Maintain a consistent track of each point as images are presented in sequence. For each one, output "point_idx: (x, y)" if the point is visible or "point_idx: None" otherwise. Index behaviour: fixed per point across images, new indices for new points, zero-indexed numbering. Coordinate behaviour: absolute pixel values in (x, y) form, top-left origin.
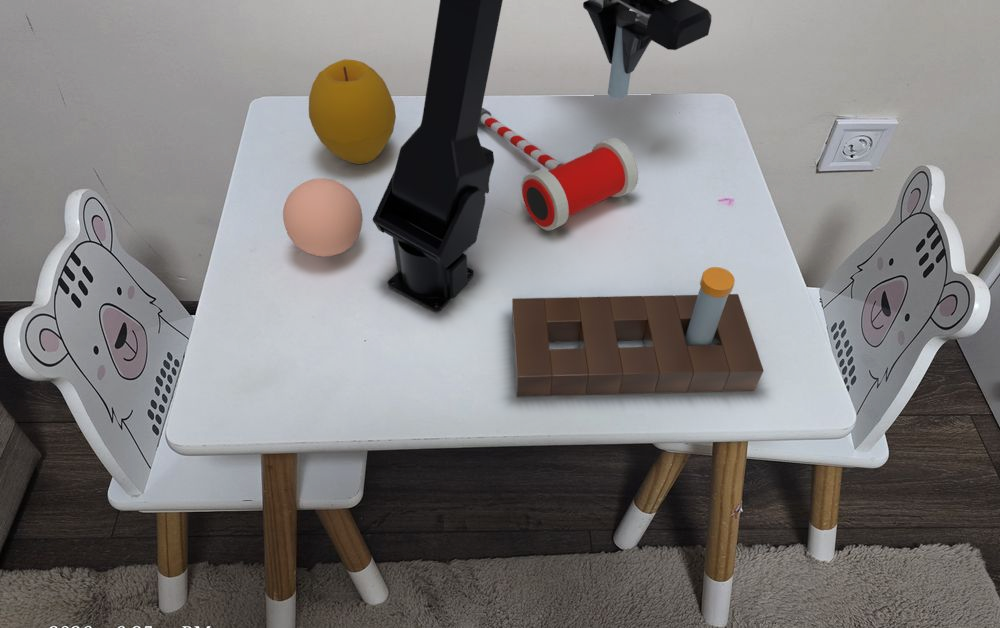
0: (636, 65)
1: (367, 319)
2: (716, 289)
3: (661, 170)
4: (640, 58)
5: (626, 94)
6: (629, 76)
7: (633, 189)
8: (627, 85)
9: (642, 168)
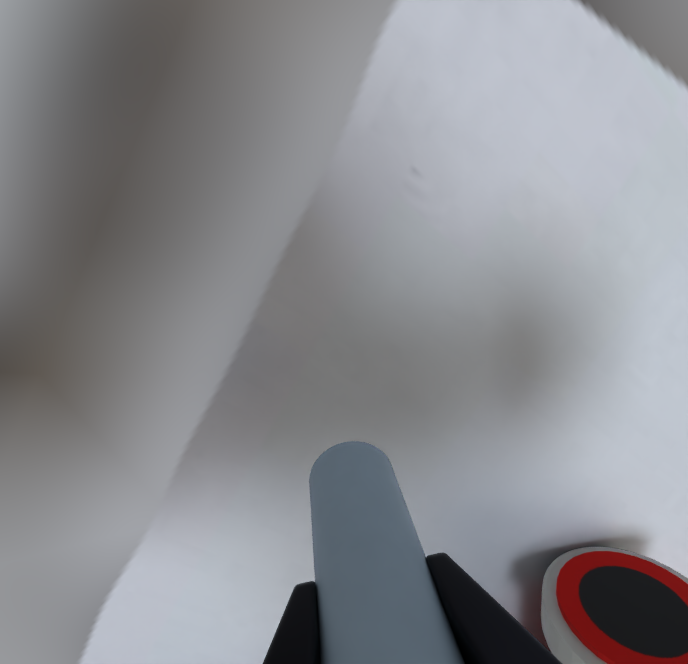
0: (471, 578)
1: None
2: None
3: (604, 414)
4: (510, 615)
5: (391, 466)
6: (414, 528)
7: (670, 568)
8: (403, 498)
9: (566, 453)
